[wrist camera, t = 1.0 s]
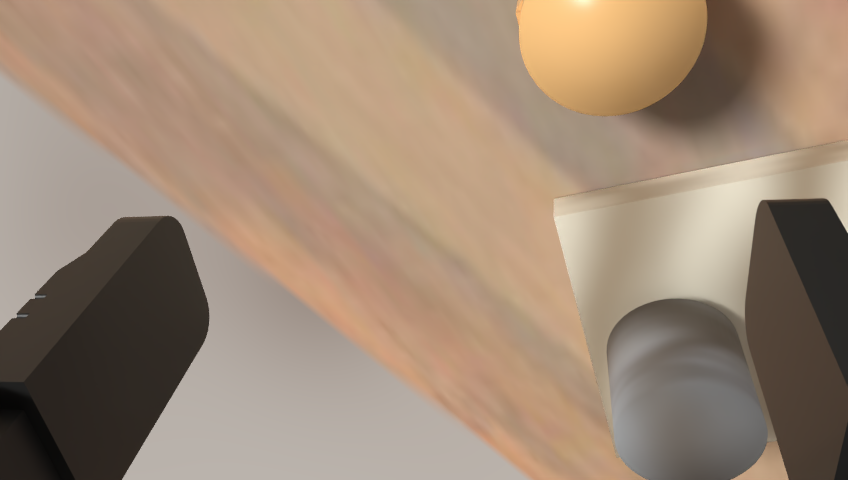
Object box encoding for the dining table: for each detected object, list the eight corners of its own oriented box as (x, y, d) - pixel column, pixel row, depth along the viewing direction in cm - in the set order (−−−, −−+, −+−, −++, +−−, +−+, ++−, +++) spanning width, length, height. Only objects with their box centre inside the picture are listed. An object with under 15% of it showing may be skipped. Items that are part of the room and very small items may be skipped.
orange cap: (670, -118, 25) (694, -91, 21) (692, 41, 28) (717, 93, 24) (507, -69, 27) (499, -35, 23) (542, 78, 29) (541, 132, 25)
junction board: (1026, 104, 27) (1161, 206, 21) (1002, 391, 34) (1099, 531, 28) (553, 198, 32) (554, 304, 26) (614, 434, 39) (625, 562, 33)
